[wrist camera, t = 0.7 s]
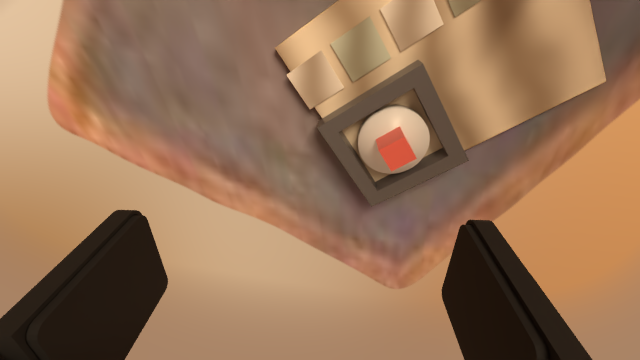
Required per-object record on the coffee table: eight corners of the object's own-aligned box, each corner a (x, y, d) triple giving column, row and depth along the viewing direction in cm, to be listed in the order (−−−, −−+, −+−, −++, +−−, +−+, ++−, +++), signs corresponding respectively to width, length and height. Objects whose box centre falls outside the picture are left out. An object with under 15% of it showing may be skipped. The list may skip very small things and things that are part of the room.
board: (548, -158, 21) (557, -165, 20) (599, 79, 29) (608, 81, 28) (272, 49, 29) (270, 51, 28) (369, 192, 37) (370, 197, 36)
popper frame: (418, 59, 28) (423, 63, 26) (461, 151, 33) (468, 160, 31) (318, 121, 32) (317, 127, 30) (370, 196, 36) (371, 206, 34)
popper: (408, 90, 29) (416, 103, 26) (437, 147, 32) (448, 165, 29) (345, 127, 32) (345, 143, 28) (377, 177, 34) (381, 197, 31)
